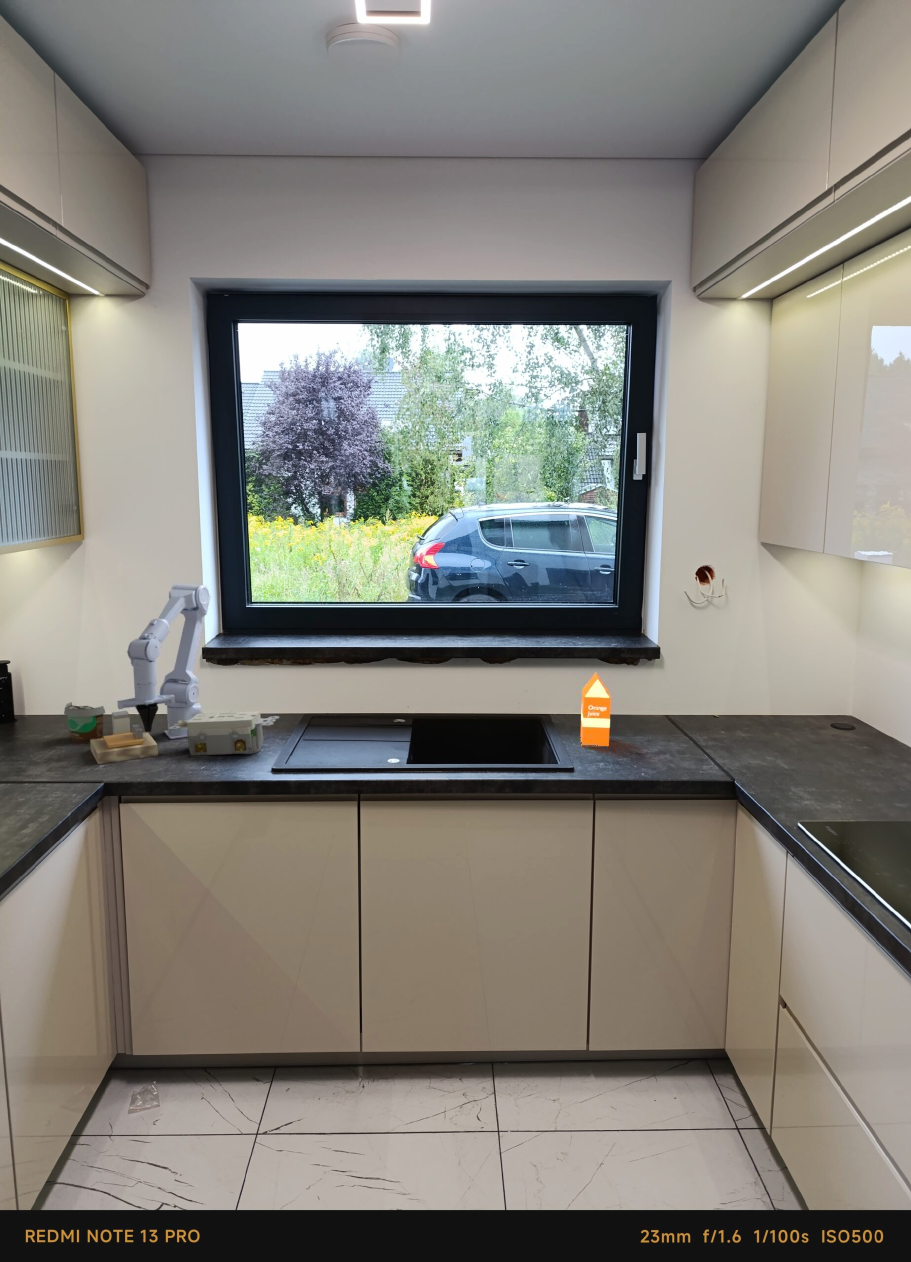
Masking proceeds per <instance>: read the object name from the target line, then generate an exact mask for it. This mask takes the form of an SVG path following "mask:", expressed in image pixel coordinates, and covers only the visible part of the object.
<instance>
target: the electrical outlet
mask: <svg viewBox="0 0 911 1262" xmlns="http://www.w3.org/2000/svg"><path fill="white" fill-rule="evenodd" d="M279 718H280V716H279V715H278V716H277V715H274V716H269V717H267V718H263V717H261V711H260V710H259V711H257V710H256V711H255V710H254V711H235V712H231V711H230V712H210V713H208V712H207V713H202V714H197V715H196V716H194V717H193V718H192V719H190V720H180V721H178V722H177V724H174V726H172V727H170V728H169V730H176V729H180V728H183V727H187V728H188V729H187V737H186V738H187V742H188V750H189V753H190V755H191V756H205V755H206V756H207V755H208V756H211V755H212V756H213V755H232V754H234V755H235V754H236V755H237V754H243V755H251V754H255V753H259V752H260V751H261V749H262V745H263V744H264V736H263V735H264V734H263V733H264V732H263V727H269V726H273V725H274V724H275V722H276V720H278V719H279Z"/></svg>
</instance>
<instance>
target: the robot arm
mask: <svg viewBox="0 0 911 1262" xmlns="http://www.w3.org/2000/svg"><path fill="white" fill-rule="evenodd" d="M168 598H169V600H167V603H166V604H165V606H164V608H163V609H162V611H161V613H160V615H159V617H158V618H153V619H151V620H150V621H149V623H148V625H147V626H146V627H145V629H144V630H143V631H142V632H141V634H140V636H139V637H138V638H135V639H133V640H132V641H130V643H129V644H128V648H127V650H126V652H127V656H128V658H129V659H130V665H131V666H132V671H133V685H134V697H131V698H127V699H121V700H117V708H118V710H123V709H129V708H135V709H136V711H137V713H138V715H139V716H140V719H141V722H142V725H143V727H144V729H143V730H144V733H145V732H148V733H151V732H152V728H153V723H154V720H155V717H156V715H157V712H158V710H159V706H158V705H162V704H164V706H166V715H167V716H166V717H167V730H164V733H165V735H166V736H167V737H168V738H169V739H170V740H174V739H179V738H188V737H187V729H188V728H187V727H183V728H180V729H176V730H169V728H170V727H172V726H174V724H177V722H178V721H180V720H190V719H192V718H193V717H194V716H196V715H197V714H203V710H202V705H201V703H200V702H197V701H198V699H199V695H200V679H198V677H197V676H196V675H195V674H194V669H195V664H196V660H197V655H198V649H199V645H200V642H201V640H200V639H201V636H202V631H203V627H204V622H205V618H206V617H205V616H206V615H208V610H209V605H210V601H211V593H210V591H209V589H208V587H207V586H206V585H205V584H199V585H198V584H185V583H183V584H181V583H175V584H173V585H172V586H171V589H170V590H169V591H168ZM179 614H181V615H183V617H184V619H185V620H184V623H183V628H182V632H181V637H180V641H179V645H178V650H177V654H176V659H175V663H174V668H173V670H172V671H170V672H168V673H167V674H166V675H165V676H164V680H163V682H162V683H161V686H160V687H159V695H158V686H157V685H158V683H157V669H156V668H157V667H156V664H157V663H156V660H157V659H158V658H159V656H160V654H161V653H160V652H161V648H162V643H163V642H164V641H165V639H166V638H167V636H168V635H169V633H170V632H171V629H170V628H171V627H170V625H171V624H172V623H173V621H175V619H176V618H177V617H178V616H179Z"/></svg>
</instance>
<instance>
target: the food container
mask: <svg viewBox="0 0 911 1262" xmlns="http://www.w3.org/2000/svg"><path fill="white" fill-rule="evenodd" d="M105 709H106V708H105V707H104V706H98V707H93V706H89V705H80V706H79V705H78V706H77V705H73V703H72V702H69V703H66V705H65V707H64V711H63V712H64V713H63V715H65V716H66V719H67V725H68V730H69V736H70V740H71V742H73V743H77V744H88V743H89V744H90V740H93V739H100V738H103V736H104V714H106V710H105Z"/></svg>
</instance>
